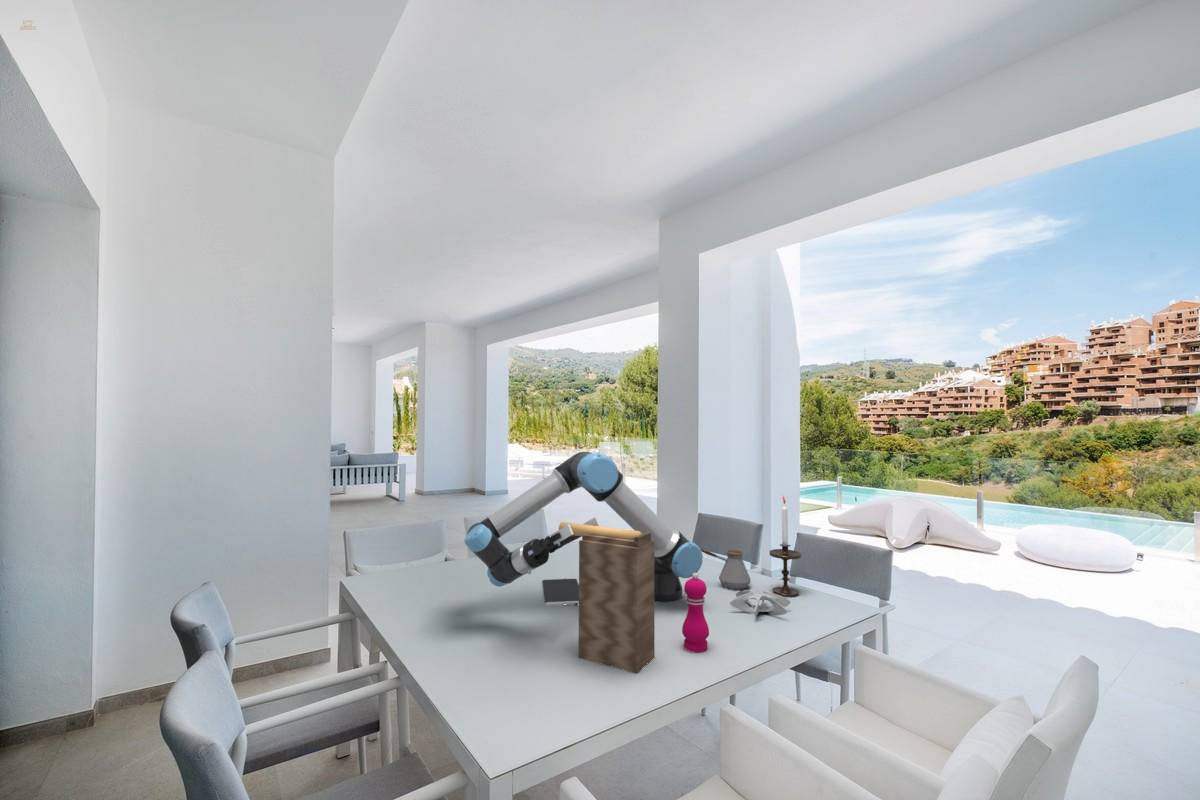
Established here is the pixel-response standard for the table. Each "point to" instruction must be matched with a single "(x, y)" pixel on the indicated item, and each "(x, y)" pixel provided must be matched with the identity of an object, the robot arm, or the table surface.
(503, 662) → the table surface
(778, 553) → the candlestick
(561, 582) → the smartphone
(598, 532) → the pin
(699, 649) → the pepper mill
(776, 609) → the sculpture
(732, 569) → the coffee pot
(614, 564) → the stand
